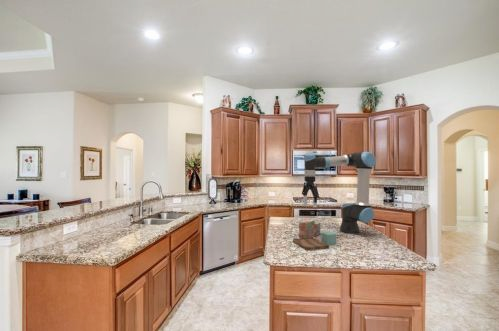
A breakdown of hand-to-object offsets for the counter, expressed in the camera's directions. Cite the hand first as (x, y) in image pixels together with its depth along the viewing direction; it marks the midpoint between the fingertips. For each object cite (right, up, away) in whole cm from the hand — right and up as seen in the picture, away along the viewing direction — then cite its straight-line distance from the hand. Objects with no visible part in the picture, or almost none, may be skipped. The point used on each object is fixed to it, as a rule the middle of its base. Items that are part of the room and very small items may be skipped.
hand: (310, 205), depth 182 cm
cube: (+12, -25, -5) cm, 28 cm away
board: (-2, -25, -9) cm, 27 cm away
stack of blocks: (+3, -26, +14) cm, 29 cm away
